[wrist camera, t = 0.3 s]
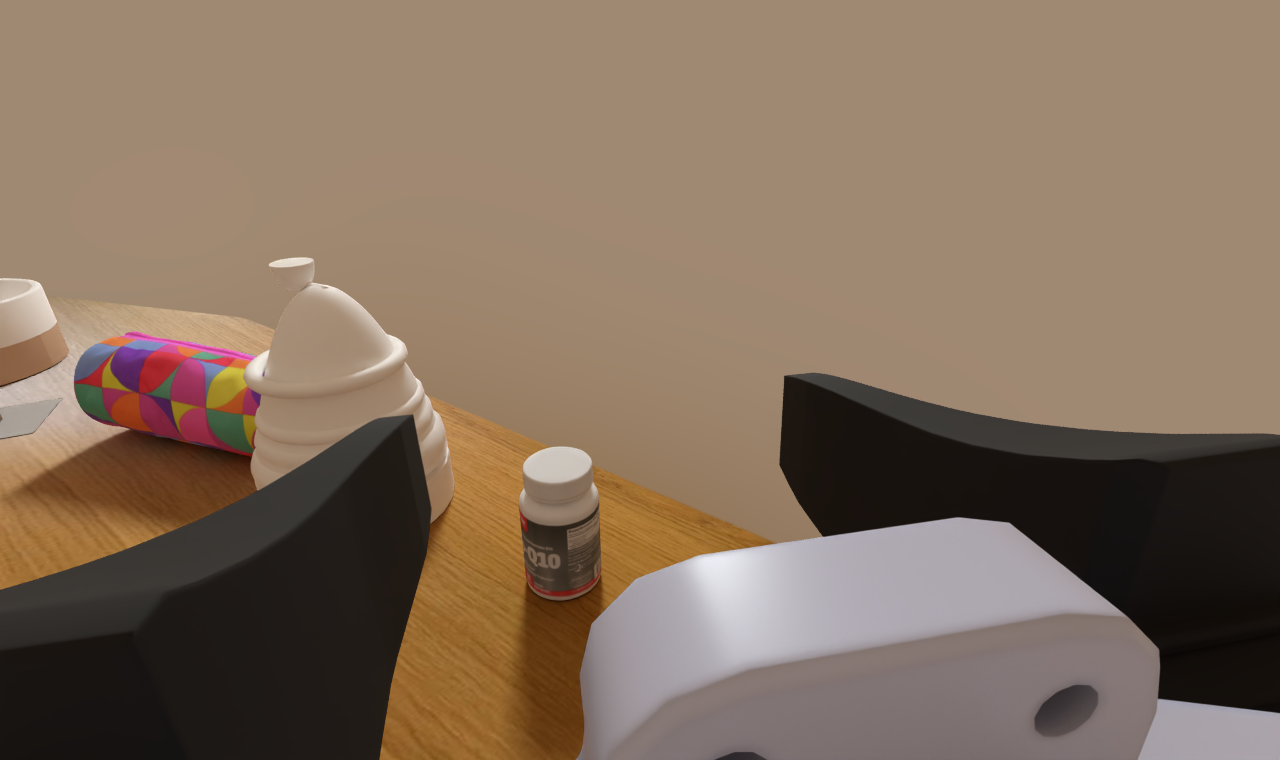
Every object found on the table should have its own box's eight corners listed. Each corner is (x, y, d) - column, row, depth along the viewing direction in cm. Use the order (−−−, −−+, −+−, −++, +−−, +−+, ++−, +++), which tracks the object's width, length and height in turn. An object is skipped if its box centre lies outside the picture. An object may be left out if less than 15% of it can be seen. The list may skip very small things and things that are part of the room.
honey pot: (230, 523, 44) (142, 277, 36) (375, 441, 54) (331, 237, 46) (353, 583, 38) (280, 308, 31) (489, 479, 48) (460, 255, 41)
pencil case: (365, 425, 57) (345, 334, 53) (289, 481, 48) (259, 378, 45) (179, 400, 62) (148, 315, 58) (81, 447, 53) (38, 351, 50)
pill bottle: (511, 576, 39) (497, 465, 35) (567, 540, 42) (560, 434, 38) (560, 616, 36) (550, 498, 32) (617, 573, 39) (614, 462, 35)
